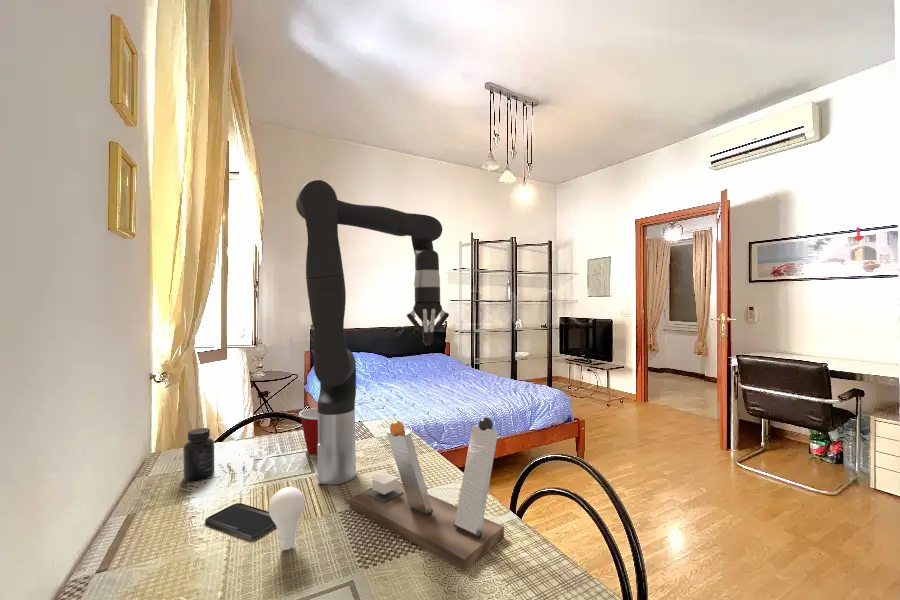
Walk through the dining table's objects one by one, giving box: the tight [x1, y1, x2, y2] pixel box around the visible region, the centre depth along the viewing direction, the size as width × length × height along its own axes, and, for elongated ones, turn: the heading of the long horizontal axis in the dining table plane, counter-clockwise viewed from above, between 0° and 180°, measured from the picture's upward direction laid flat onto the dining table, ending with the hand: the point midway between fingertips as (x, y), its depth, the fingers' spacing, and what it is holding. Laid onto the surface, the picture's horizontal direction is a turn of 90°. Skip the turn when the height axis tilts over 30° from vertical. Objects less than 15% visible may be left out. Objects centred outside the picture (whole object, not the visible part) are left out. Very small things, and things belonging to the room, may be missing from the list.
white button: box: [371, 472, 399, 495], centre depth 86 cm, size 4×4×3 cm
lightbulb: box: [268, 486, 306, 551], centre depth 71 cm, size 6×6×11 cm
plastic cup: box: [298, 407, 318, 455], centre depth 118 cm, size 11×11×12 cm
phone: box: [204, 502, 277, 542], centre depth 80 cm, size 8×1×15 cm
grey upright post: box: [454, 416, 499, 538], centre depth 74 cm, size 3×6×21 cm, turn 50°
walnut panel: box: [348, 481, 505, 572], centre depth 79 cm, size 12×32×2 cm, turn 50°
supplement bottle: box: [182, 427, 215, 483], centre depth 101 cm, size 7×7×12 cm
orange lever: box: [386, 420, 433, 515], centre depth 77 cm, size 3×6×21 cm, turn 50°
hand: (428, 344), depth 114 cm, fingers closed
